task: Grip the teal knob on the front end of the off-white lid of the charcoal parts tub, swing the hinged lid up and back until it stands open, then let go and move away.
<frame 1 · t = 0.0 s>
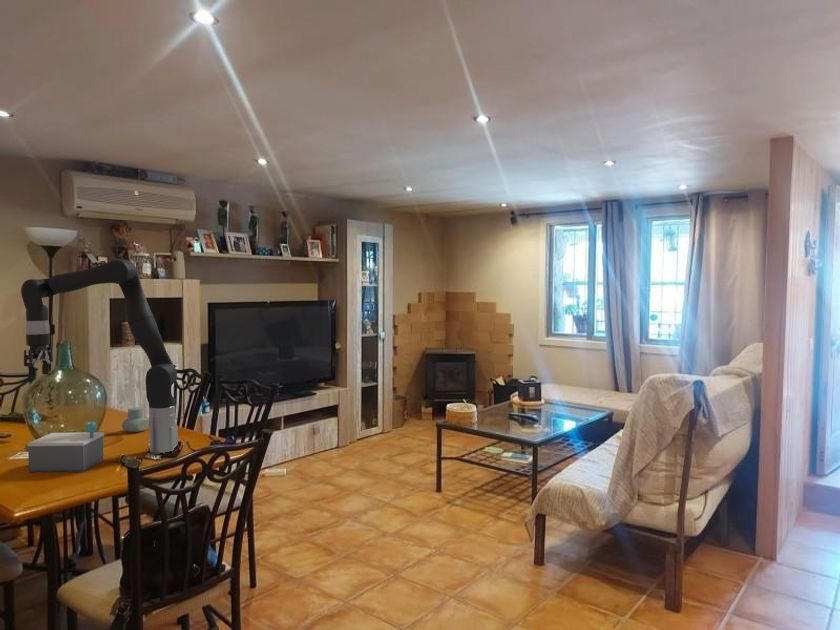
hand: (39, 375, 224), 29 cm above the table, tool pointing down, fingers open, 8 cm apart
tub lid: (68, 431, 208), point 12 cm above the table, hinge at 0.0°
parts tub: (67, 466, 209), on the table
air freshener: (136, 431, 260), on the table
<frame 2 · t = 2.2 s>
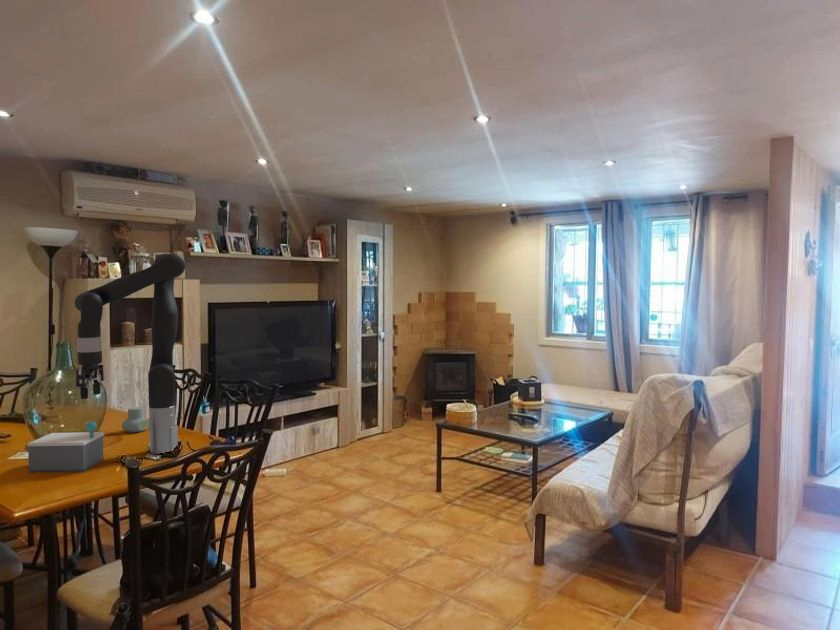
hand: (90, 396, 208), 24 cm above the table, tool pointing down, fingers open, 8 cm apart
nothing on the table moved.
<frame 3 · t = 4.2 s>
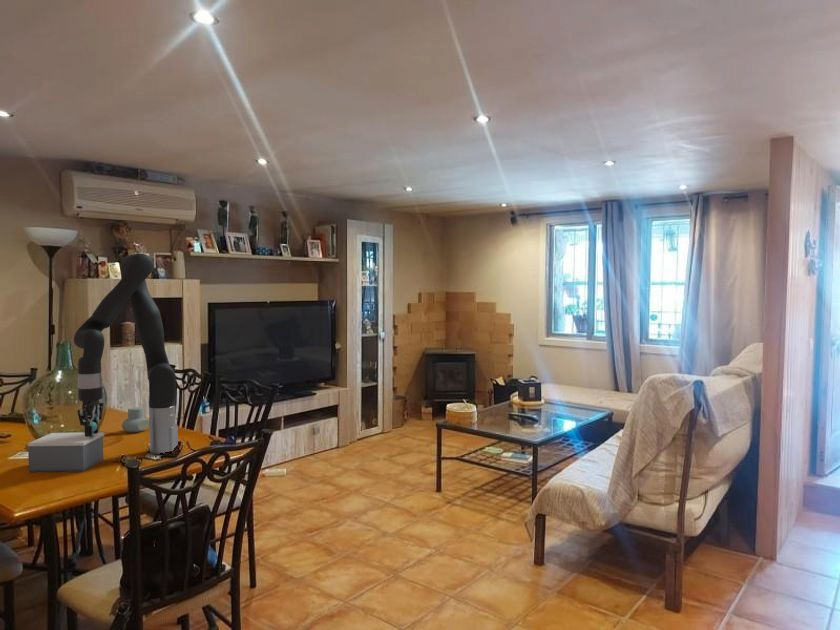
hand: (91, 434, 209), 11 cm above the table, tool pointing down, fingers closed on tub lid, 3 cm apart
tub lid: (68, 431, 208), point 12 cm above the table, hinge at 0.0°, touching gripper
everything else where it was.
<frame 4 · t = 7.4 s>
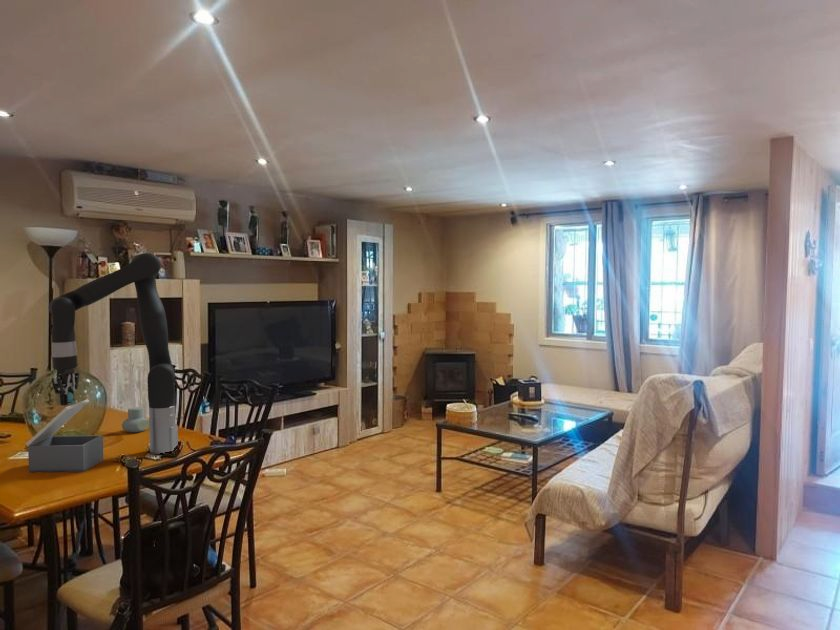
hand: (67, 403, 208), 22 cm above the table, tool pointing down, fingers closed on tub lid, 3 cm apart
tub lid: (53, 415, 208), point 18 cm above the table, hinge at 42.4°, touching gripper
everything else where it was.
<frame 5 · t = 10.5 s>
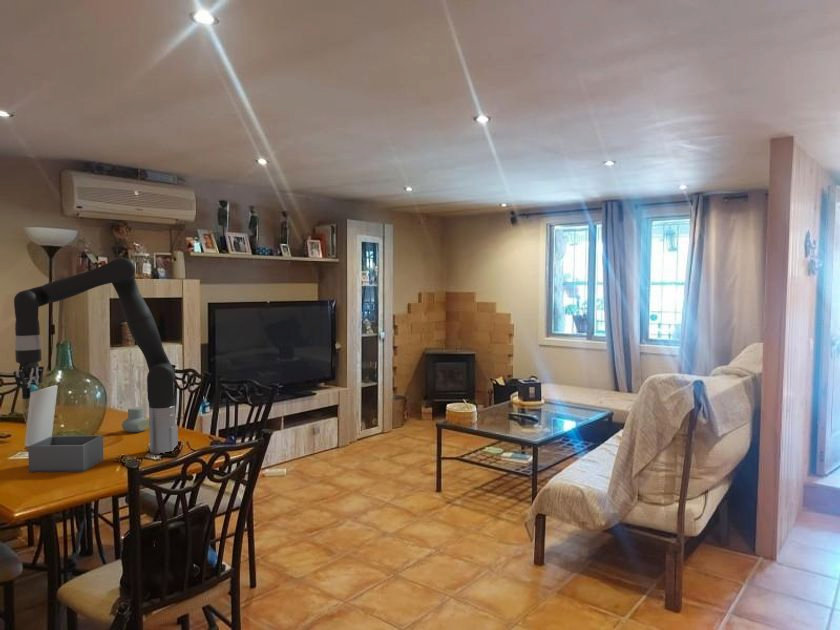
hand: (30, 397, 207), 24 cm above the table, tool pointing down, fingers closed on tub lid, 3 cm apart
tub lid: (33, 412, 207), point 19 cm above the table, hinge at 81.9°, touching gripper
everything else where it was.
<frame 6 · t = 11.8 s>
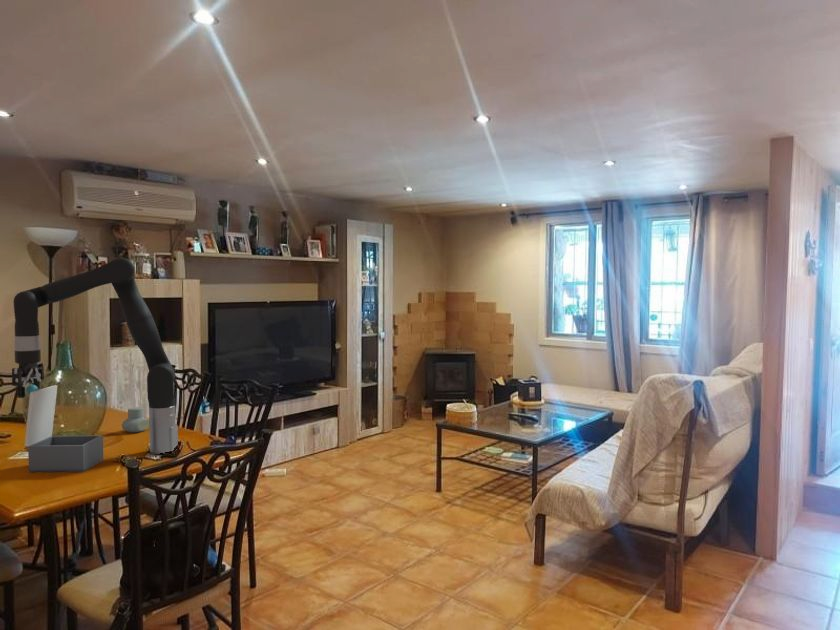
hand: (29, 395, 207), 25 cm above the table, tool pointing down, fingers open, 8 cm apart
tub lid: (33, 412, 207), point 19 cm above the table, hinge at 82.1°
everything else where it was.
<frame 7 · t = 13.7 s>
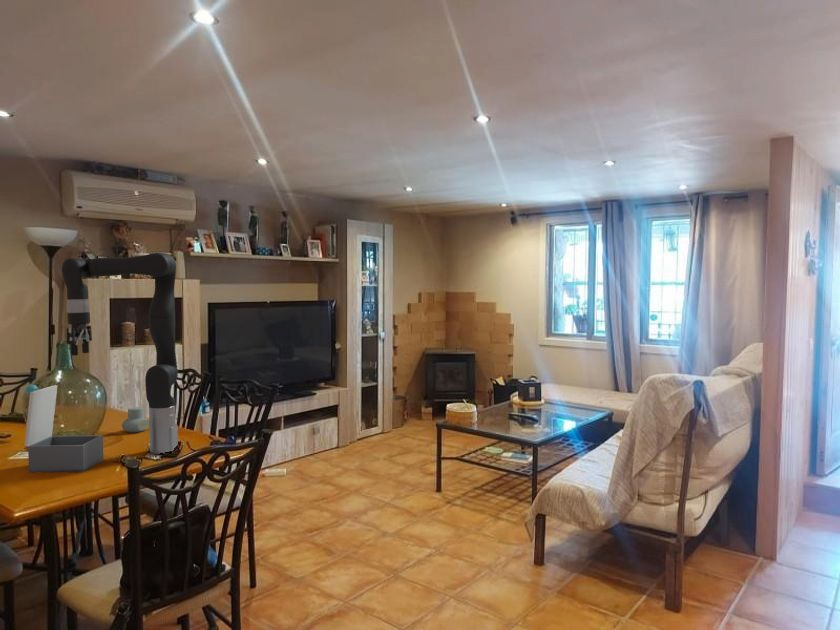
hand: (80, 354, 226), 37 cm above the table, tool pointing down, fingers open, 8 cm apart
nothing on the table moved.
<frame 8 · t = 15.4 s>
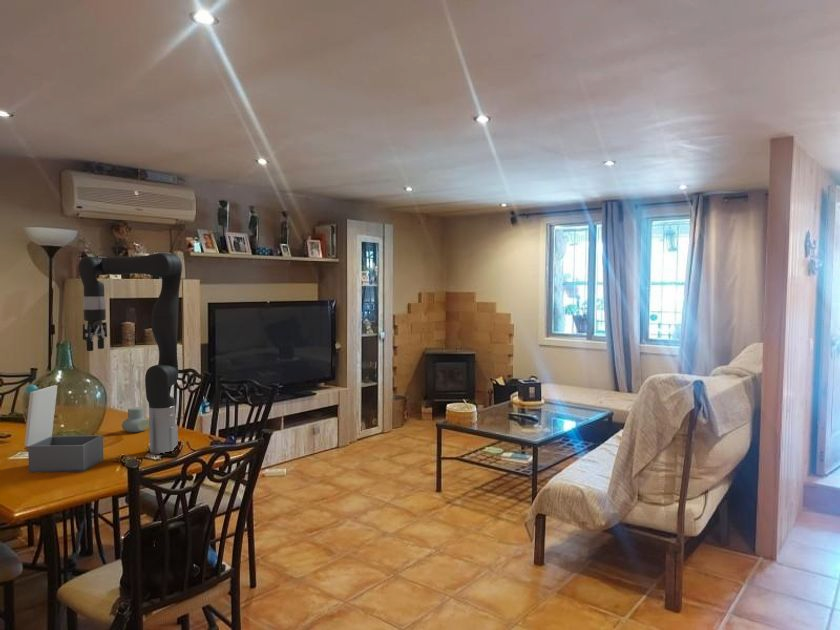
hand: (95, 349, 233), 38 cm above the table, tool pointing down, fingers open, 8 cm apart
nothing on the table moved.
at the end: tub lid at +82° (first picture: +0°); the gripper is holding nothing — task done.
